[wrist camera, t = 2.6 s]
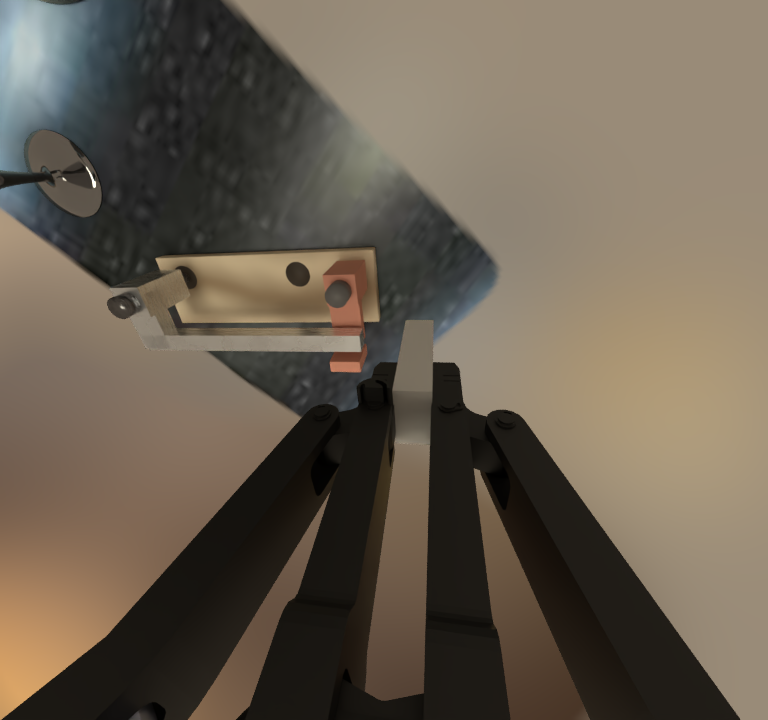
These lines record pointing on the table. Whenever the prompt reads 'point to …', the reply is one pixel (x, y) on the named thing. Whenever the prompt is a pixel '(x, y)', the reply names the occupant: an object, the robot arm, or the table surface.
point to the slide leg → (346, 307)
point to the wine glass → (58, 173)
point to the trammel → (157, 330)
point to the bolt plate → (266, 285)
